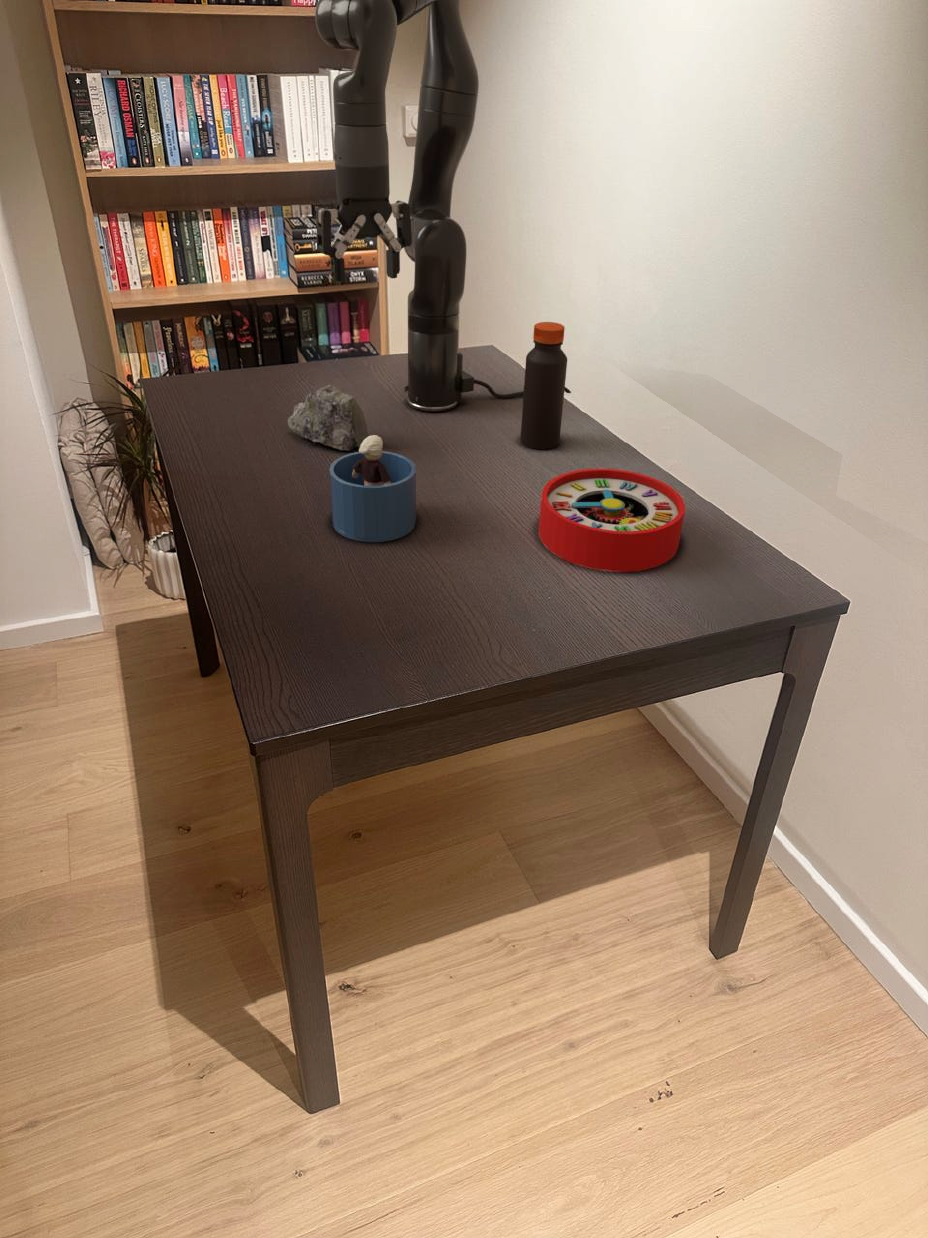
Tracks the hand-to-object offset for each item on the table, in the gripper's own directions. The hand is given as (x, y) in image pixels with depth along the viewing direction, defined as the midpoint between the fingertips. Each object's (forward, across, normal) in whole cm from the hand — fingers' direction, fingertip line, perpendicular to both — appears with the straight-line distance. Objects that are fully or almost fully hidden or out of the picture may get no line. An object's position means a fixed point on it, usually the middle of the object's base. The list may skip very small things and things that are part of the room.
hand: (366, 280), depth 136 cm
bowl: (+28, -10, -22) cm, 37 cm away
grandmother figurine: (+27, -10, -22) cm, 36 cm away
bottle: (+28, +28, -9) cm, 41 cm away
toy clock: (+28, +17, -41) cm, 53 cm away
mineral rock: (+28, -4, +8) cm, 29 cm away
